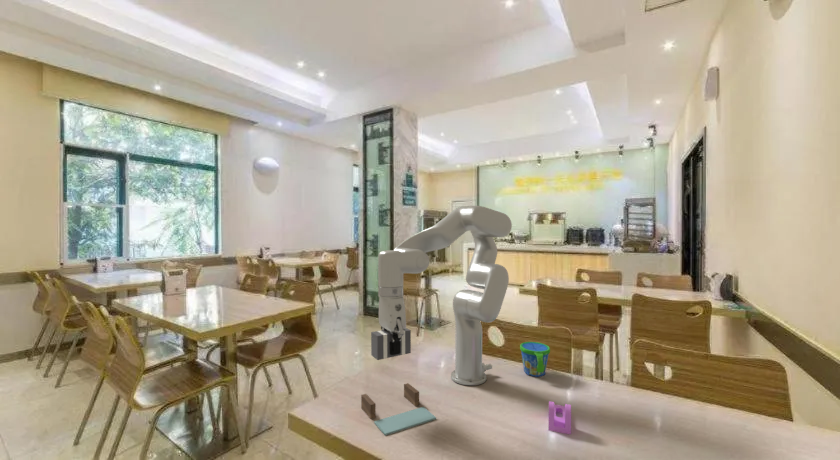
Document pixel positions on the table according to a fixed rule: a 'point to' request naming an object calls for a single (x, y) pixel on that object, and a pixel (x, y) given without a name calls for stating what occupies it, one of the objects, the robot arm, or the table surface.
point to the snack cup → (534, 358)
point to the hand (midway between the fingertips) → (391, 350)
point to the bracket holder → (370, 406)
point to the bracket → (560, 418)
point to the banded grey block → (388, 344)
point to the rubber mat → (404, 420)
